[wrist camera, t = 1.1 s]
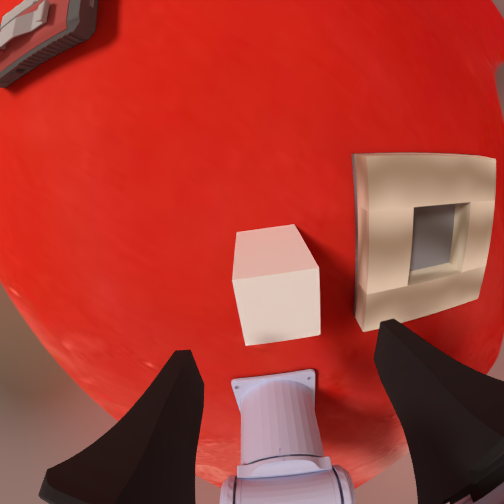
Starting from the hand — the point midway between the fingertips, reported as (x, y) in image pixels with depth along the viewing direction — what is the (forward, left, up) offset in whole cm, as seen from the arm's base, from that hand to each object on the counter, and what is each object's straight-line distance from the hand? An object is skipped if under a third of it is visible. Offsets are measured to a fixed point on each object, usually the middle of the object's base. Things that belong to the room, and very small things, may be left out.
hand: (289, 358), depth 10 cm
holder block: (0, -13, -11) cm, 17 cm away
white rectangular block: (0, 0, -11) cm, 11 cm away
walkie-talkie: (+24, +19, -11) cm, 32 cm away
